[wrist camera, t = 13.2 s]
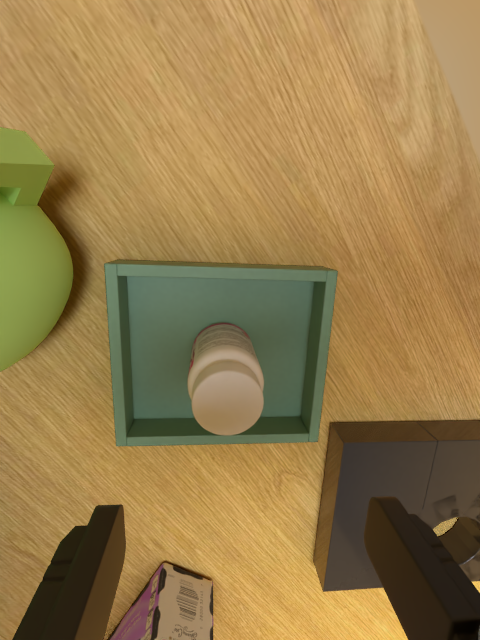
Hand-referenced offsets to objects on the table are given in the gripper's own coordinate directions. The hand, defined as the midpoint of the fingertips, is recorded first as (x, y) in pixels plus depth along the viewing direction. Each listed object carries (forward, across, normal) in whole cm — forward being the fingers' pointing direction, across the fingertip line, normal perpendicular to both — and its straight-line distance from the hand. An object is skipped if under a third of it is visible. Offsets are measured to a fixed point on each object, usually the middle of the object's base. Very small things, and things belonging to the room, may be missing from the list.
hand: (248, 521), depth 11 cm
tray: (+16, 0, 0) cm, 17 cm away
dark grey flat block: (+17, -18, +15) cm, 29 cm away
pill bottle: (+16, 0, 0) cm, 16 cm away
